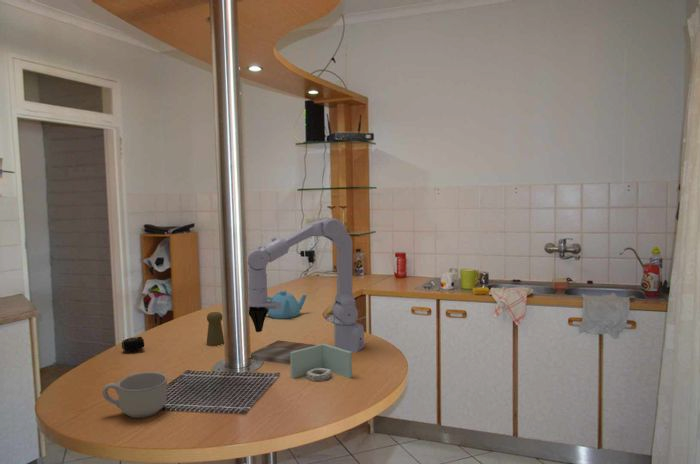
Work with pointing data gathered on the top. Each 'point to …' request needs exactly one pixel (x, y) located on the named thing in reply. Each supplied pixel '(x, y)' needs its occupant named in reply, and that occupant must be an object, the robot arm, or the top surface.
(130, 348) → the tape measure
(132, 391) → the teacup
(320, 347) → the l-shaped corner panel
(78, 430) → the top surface
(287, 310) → the teapot
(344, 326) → the robot arm
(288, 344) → the walnut floor row
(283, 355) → the grey oak plank
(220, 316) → the brown tall rounded piece
